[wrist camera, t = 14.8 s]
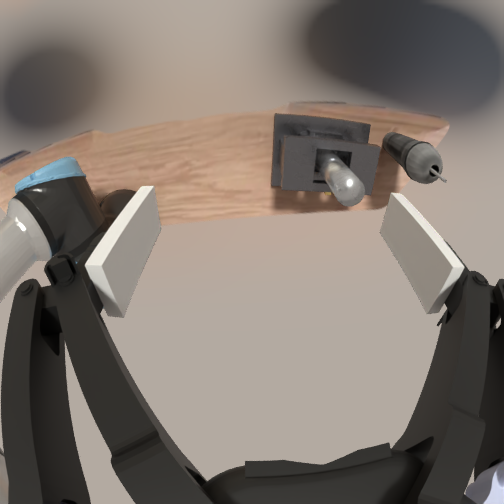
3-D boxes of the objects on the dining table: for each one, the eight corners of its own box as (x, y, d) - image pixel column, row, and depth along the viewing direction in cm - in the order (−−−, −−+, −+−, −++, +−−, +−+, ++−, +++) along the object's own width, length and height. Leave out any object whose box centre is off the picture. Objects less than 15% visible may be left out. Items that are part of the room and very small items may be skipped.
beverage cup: (401, 163, 48) (456, 209, 32) (372, 154, 48) (424, 199, 32) (411, 131, 44) (473, 168, 28) (382, 121, 43) (442, 153, 27)
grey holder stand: (271, 183, 52) (274, 203, 45) (274, 113, 44) (279, 120, 37) (357, 188, 52) (372, 208, 46) (368, 123, 44) (388, 134, 37)
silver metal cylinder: (311, 142, 46) (338, 176, 31) (332, 145, 46) (367, 179, 31) (309, 164, 49) (333, 206, 34) (329, 165, 49) (361, 208, 34)
